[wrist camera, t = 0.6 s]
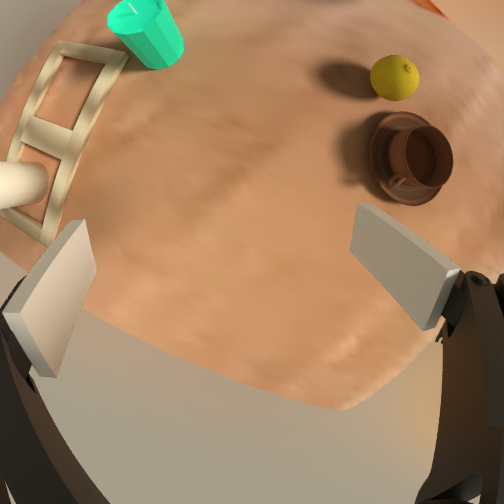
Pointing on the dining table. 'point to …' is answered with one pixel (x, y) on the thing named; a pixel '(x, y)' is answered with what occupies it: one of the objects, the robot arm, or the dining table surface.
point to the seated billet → (22, 183)
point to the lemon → (394, 78)
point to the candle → (147, 31)
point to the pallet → (60, 132)
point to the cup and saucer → (410, 158)
